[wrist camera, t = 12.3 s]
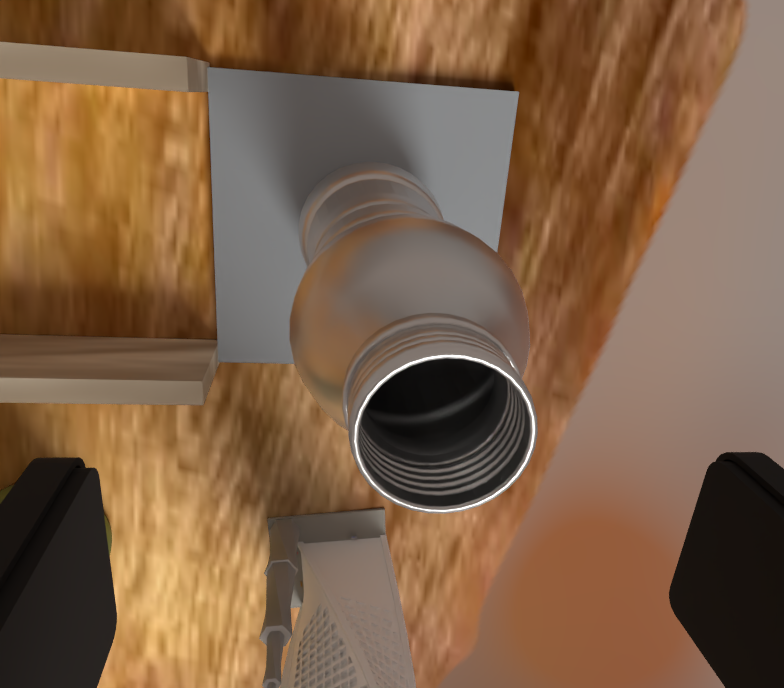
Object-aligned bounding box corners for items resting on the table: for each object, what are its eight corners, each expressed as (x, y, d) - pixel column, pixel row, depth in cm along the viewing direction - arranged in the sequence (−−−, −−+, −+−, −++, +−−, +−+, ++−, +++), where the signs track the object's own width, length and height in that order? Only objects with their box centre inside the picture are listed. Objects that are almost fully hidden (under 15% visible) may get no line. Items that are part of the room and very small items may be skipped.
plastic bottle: (344, 127, 28) (387, 194, 10) (462, 206, 30) (681, 385, 12) (275, 245, 30) (202, 489, 12) (391, 312, 32) (486, 613, 14)
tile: (209, 67, 27) (207, 66, 27) (515, 91, 29) (518, 91, 29) (219, 357, 33) (218, 361, 32) (478, 363, 34) (481, 367, 34)
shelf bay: (-192, 30, 25) (-307, 16, 21) (209, 62, 27) (186, 56, 23) (-111, 353, 31) (-187, 399, 26) (220, 361, 33) (203, 405, 28)
